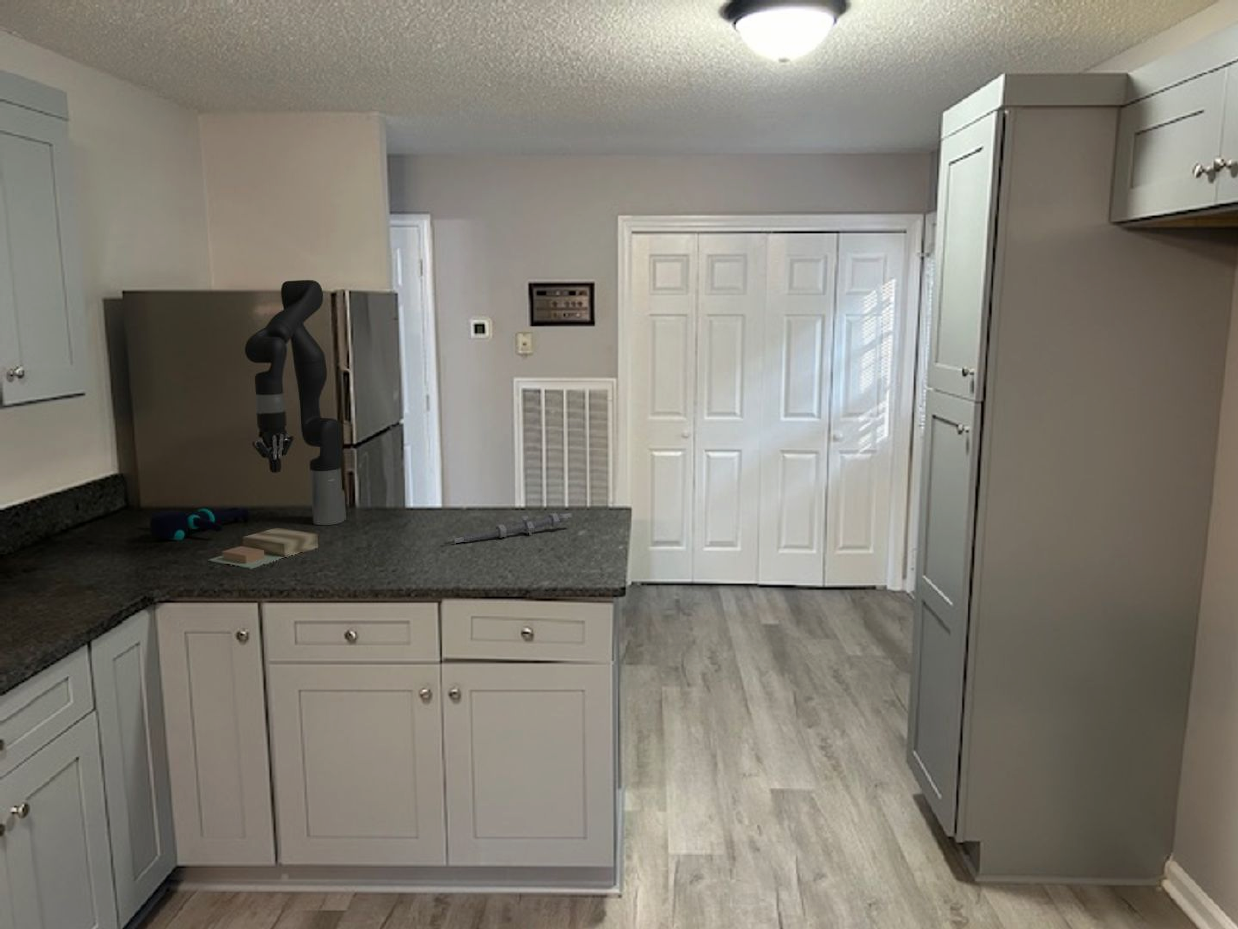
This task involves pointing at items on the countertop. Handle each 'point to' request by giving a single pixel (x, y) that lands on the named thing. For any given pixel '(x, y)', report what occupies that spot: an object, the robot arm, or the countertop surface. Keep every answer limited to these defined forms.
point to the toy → (191, 521)
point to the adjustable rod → (516, 527)
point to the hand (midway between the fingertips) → (275, 472)
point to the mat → (250, 565)
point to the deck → (282, 542)
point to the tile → (243, 554)
